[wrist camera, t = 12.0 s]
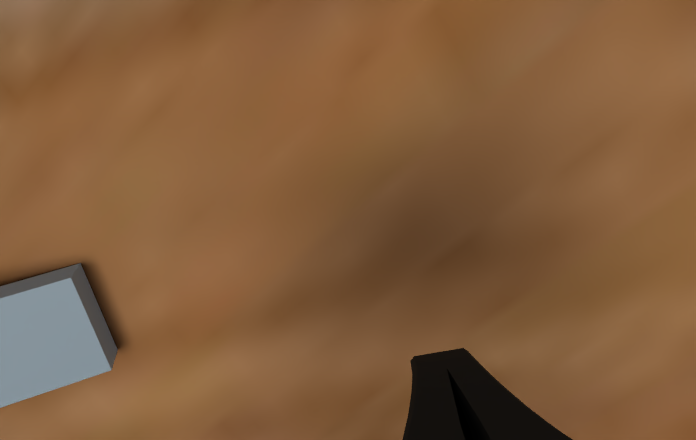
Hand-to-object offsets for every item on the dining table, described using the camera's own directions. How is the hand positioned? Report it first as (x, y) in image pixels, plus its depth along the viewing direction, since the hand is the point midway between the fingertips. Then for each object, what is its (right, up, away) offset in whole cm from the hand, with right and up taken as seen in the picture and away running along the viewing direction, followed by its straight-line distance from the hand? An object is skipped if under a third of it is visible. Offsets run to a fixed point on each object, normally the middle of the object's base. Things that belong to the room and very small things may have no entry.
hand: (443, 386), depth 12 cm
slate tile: (-14, 0, +10) cm, 17 cm away
